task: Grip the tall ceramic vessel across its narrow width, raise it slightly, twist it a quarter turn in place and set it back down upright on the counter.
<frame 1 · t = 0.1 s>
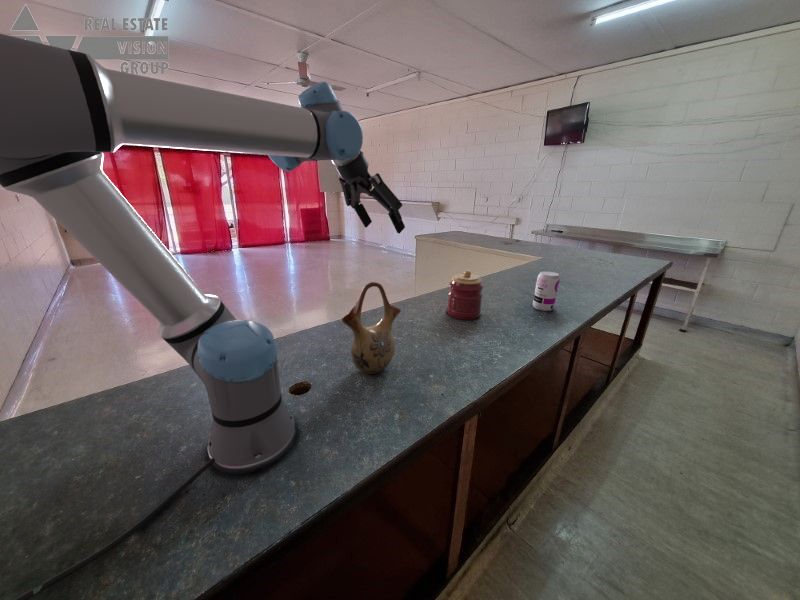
hand: (384, 227, 90), 36 cm above the counter, tool tilted 35°, fingers open, 13 cm apart
ceramic vessel: (373, 370, 86), on the counter
supplement can: (542, 308, 133), on the counter
kitchen canister: (463, 314, 125), on the counter
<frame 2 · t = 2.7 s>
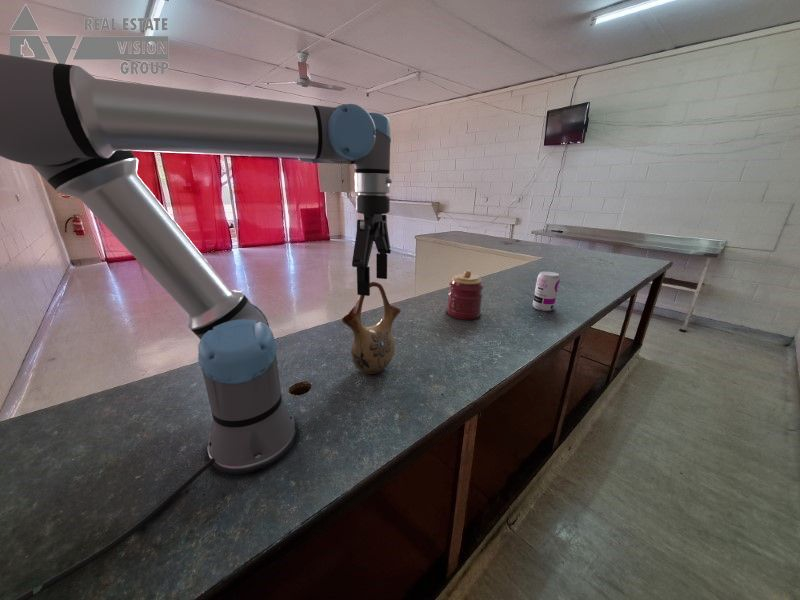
hand: (373, 286, 77), 24 cm above the counter, tool pointing down, fingers open, 13 cm apart
nothing on the counter moved.
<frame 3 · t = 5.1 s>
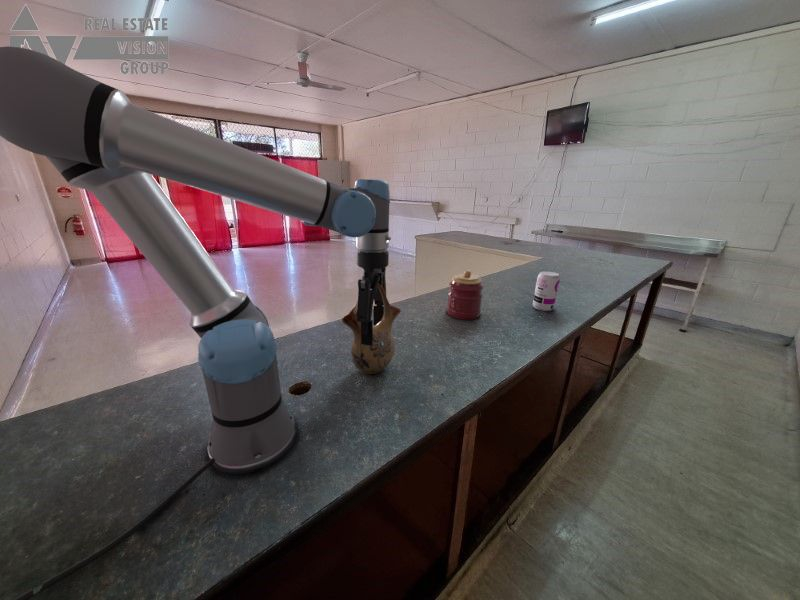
hand: (373, 335, 82), 10 cm above the counter, tool pointing down, fingers closed on ceramic vessel, 8 cm apart
ceramic vessel: (373, 370, 86), on the counter, touching gripper
everything else where it was.
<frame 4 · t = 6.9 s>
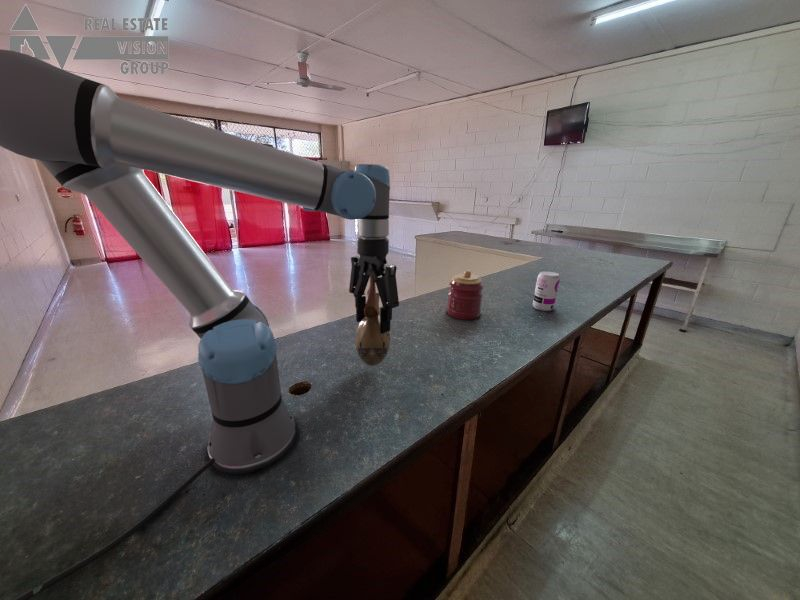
hand: (372, 325, 81), 13 cm above the counter, tool pointing down, fingers closed on ceramic vessel, 8 cm apart
ceramic vessel: (372, 361, 84), point 3 cm above the counter, touching gripper
everything else where it was.
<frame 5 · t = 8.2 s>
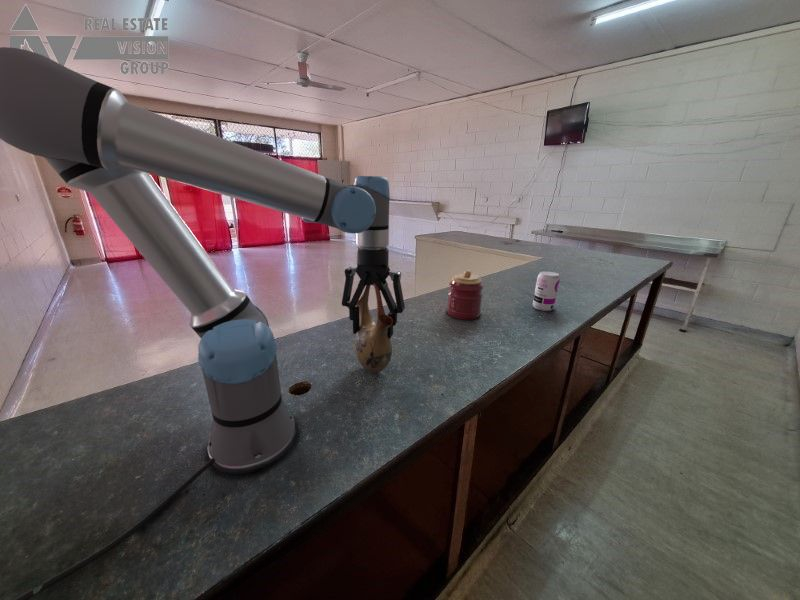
hand: (373, 333, 82), 11 cm above the counter, tool pointing down, fingers closed on ceramic vessel, 8 cm apart
ceramic vessel: (373, 368, 85), on the counter, touching gripper
everything else where it was.
when the fingers open (10 cm above the counter, at t = 8.8 s): ceramic vessel stays where it is, on the counter.
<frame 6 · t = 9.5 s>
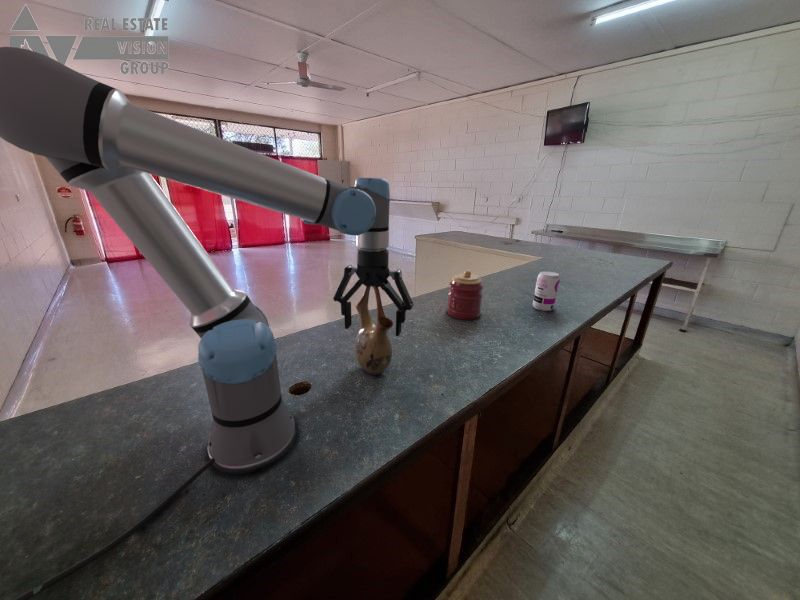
hand: (372, 330, 81), 12 cm above the counter, tool pointing down, fingers open, 13 cm apart
ceramic vessel: (373, 370, 86), on the counter
everything else where it was.
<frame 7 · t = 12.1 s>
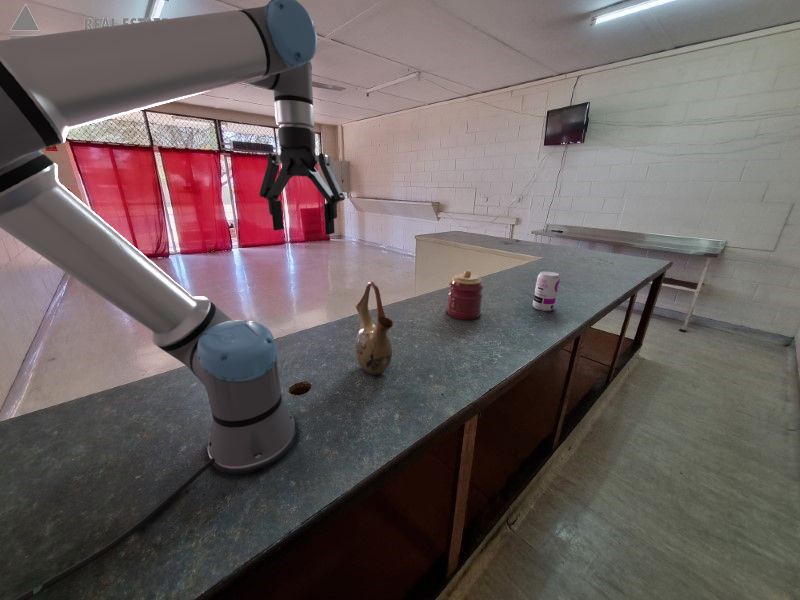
hand: (303, 231, 73), 37 cm above the counter, tool pointing down, fingers open, 13 cm apart
nothing on the counter moved.
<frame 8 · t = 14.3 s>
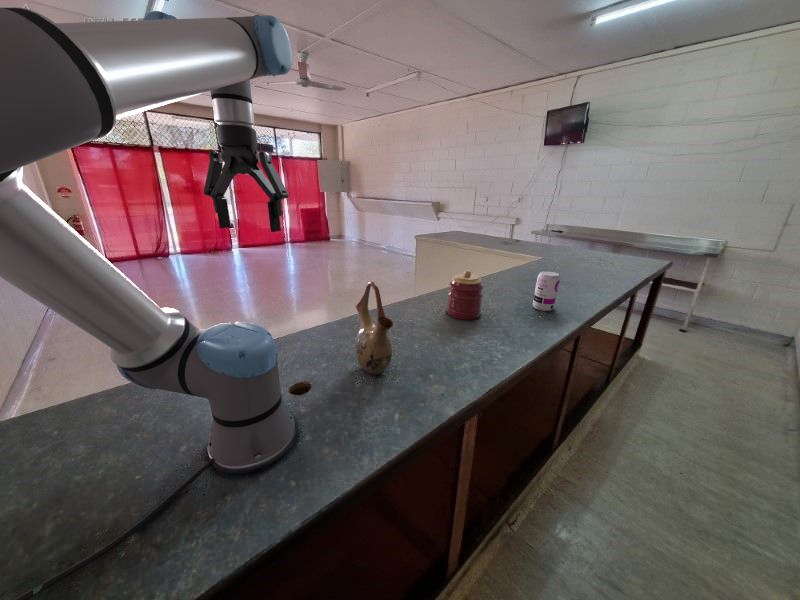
hand: (250, 229, 73), 37 cm above the counter, tool pointing down, fingers open, 13 cm apart
nothing on the counter moved.
at the end: ceramic vessel tilted 0°; ceramic vessel inside the target area (0.1 cm from its centre), on the counter; the gripper is holding nothing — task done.
